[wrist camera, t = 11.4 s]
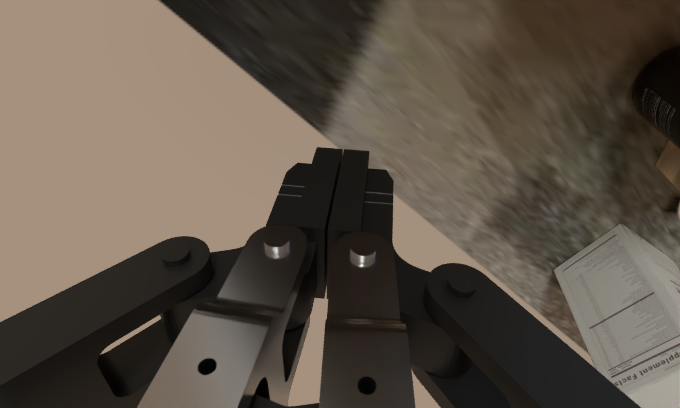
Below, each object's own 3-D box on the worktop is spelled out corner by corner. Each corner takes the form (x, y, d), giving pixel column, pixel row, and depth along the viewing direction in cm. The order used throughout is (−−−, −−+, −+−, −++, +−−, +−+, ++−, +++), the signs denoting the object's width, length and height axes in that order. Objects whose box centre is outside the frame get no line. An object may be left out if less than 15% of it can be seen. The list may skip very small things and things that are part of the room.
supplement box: (602, 302, 54) (671, 441, 40) (550, 269, 51) (604, 405, 38) (676, 259, 48) (784, 402, 35) (621, 220, 46) (715, 357, 33)
